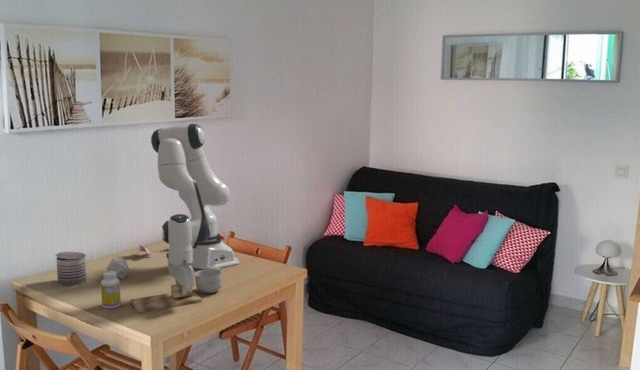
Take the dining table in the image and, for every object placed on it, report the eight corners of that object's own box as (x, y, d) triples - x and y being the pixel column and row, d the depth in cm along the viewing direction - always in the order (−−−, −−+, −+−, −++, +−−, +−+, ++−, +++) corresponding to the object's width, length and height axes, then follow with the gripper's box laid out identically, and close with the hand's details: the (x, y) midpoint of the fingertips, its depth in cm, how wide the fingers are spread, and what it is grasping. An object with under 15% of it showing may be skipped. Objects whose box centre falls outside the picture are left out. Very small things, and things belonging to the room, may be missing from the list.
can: (65, 277, 269) (63, 249, 267) (91, 277, 268) (90, 250, 266) (52, 285, 258) (50, 257, 256) (79, 286, 257) (78, 258, 255)
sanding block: (188, 293, 247) (188, 282, 246) (192, 296, 244) (191, 285, 243) (171, 296, 244) (170, 284, 243) (174, 299, 240) (174, 287, 239)
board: (191, 292, 252) (191, 289, 252) (201, 301, 242) (201, 298, 242) (130, 302, 240) (130, 299, 240) (138, 312, 230) (138, 309, 230)
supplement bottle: (104, 302, 240) (103, 270, 237) (122, 302, 240) (121, 269, 238) (100, 309, 233) (98, 275, 231) (118, 308, 234) (117, 275, 231)
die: (116, 283, 264) (130, 263, 265) (99, 272, 264) (113, 252, 266) (122, 284, 272) (135, 265, 273) (106, 273, 273) (119, 254, 274)
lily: (144, 263, 294) (152, 245, 295) (123, 252, 295) (132, 235, 296) (151, 263, 305) (159, 246, 306) (131, 253, 306) (140, 237, 307)
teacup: (209, 297, 247) (209, 277, 245) (189, 292, 252) (188, 273, 251) (232, 287, 258) (232, 269, 257) (212, 283, 264) (212, 264, 262)
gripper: (198, 263, 234) (198, 299, 236) (180, 250, 251) (181, 283, 254) (181, 265, 231) (182, 301, 233) (164, 252, 248) (165, 285, 250)
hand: (181, 292), depth 243 cm, fingers closed on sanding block, 4 cm apart
